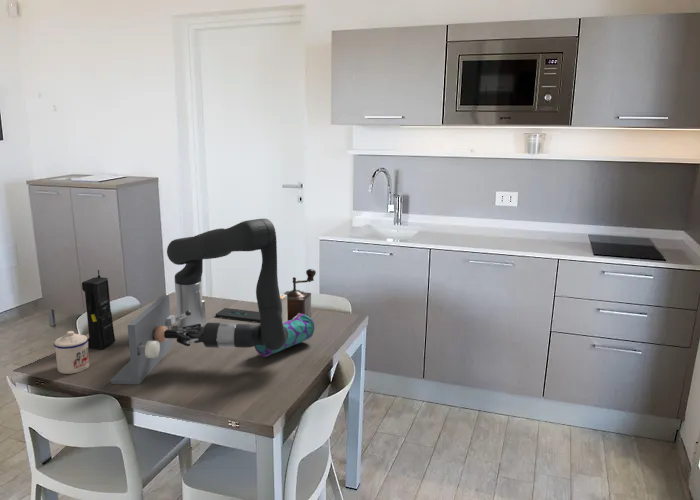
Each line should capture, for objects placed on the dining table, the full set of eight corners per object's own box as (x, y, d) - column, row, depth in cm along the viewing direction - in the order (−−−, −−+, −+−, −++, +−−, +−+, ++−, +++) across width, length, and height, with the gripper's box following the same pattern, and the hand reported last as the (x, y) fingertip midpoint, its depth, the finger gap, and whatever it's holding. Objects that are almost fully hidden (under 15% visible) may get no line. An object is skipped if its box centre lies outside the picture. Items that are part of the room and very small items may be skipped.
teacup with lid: (78, 375, 159) (74, 338, 156) (50, 373, 160) (45, 336, 157) (102, 358, 170) (98, 323, 168) (75, 356, 171) (71, 322, 169)
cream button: (160, 353, 157) (159, 338, 156) (153, 360, 152) (152, 344, 151) (136, 353, 157) (135, 337, 156) (129, 360, 152) (128, 344, 151)
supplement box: (288, 328, 198) (288, 294, 196) (282, 333, 194) (282, 298, 191) (268, 325, 201) (267, 291, 198) (262, 329, 197) (261, 295, 194)
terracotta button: (168, 338, 168) (167, 323, 167) (162, 344, 163) (161, 329, 162) (146, 337, 168) (145, 323, 167) (139, 343, 163) (138, 328, 162)
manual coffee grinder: (305, 324, 202) (305, 278, 198) (277, 321, 205) (276, 276, 201) (317, 311, 217) (317, 268, 213) (291, 308, 220) (291, 266, 216)
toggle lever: (192, 313, 176) (189, 308, 176) (191, 315, 175) (188, 310, 174) (177, 321, 177) (174, 316, 177) (175, 323, 175) (172, 318, 175)
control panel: (176, 346, 180) (173, 295, 176) (144, 384, 154) (140, 325, 150) (148, 346, 181) (144, 294, 177) (111, 383, 154) (106, 324, 150)
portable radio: (101, 351, 176) (95, 277, 170) (85, 349, 177) (78, 275, 171) (116, 341, 183) (110, 270, 178) (100, 340, 185) (94, 269, 179)
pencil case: (300, 338, 190) (293, 311, 189) (318, 337, 184) (311, 310, 184) (255, 358, 174) (248, 329, 174) (273, 358, 168) (266, 328, 168)
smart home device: (225, 307, 216) (271, 312, 211) (225, 311, 216) (271, 316, 211) (214, 314, 208) (262, 319, 203) (214, 318, 209) (262, 324, 204)
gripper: (226, 316, 170) (172, 314, 171) (215, 331, 157) (156, 330, 158) (227, 338, 172) (173, 337, 172) (216, 355, 159) (157, 354, 159)
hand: (165, 333), depth 165 cm, fingers closed
